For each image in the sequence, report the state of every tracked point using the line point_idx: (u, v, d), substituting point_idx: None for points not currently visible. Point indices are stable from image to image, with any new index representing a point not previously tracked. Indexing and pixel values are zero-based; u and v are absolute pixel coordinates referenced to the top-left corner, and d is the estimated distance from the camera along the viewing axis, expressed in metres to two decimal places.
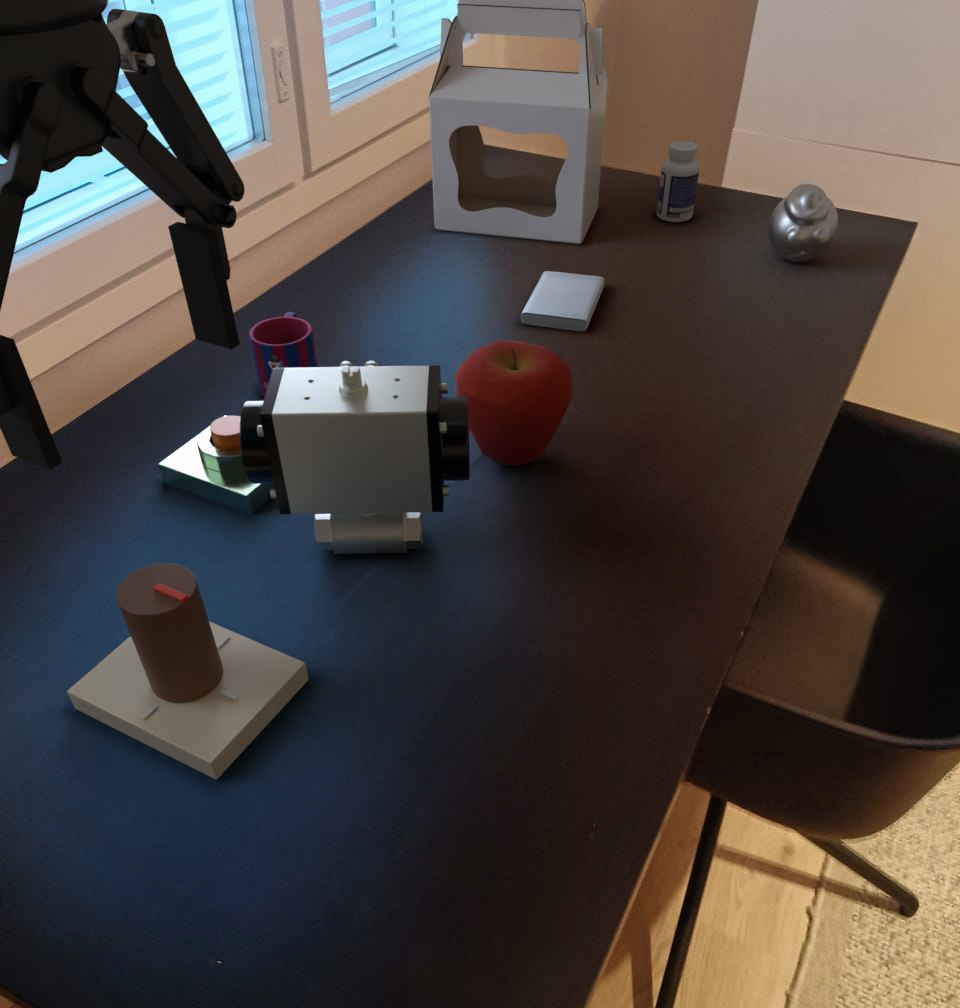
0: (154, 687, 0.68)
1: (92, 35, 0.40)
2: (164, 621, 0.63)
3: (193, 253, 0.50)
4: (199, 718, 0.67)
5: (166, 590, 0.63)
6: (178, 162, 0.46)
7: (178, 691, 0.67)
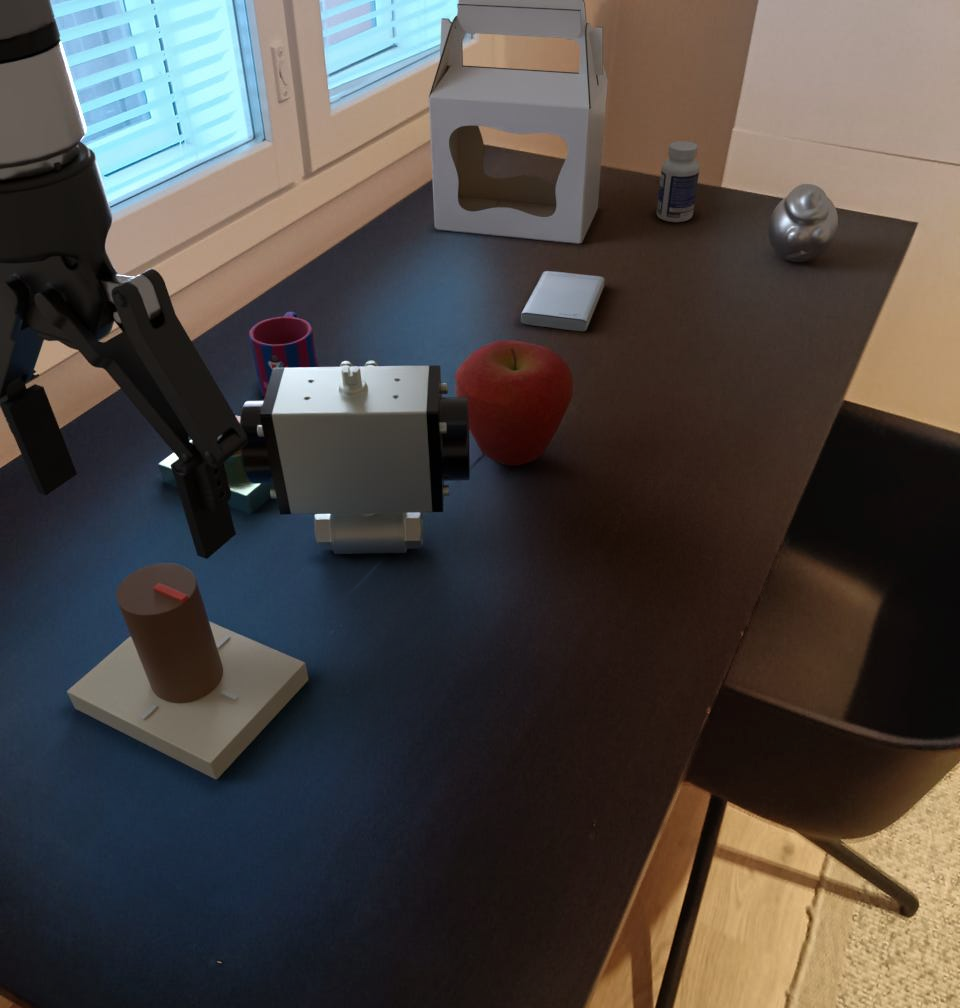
0: (154, 687, 0.68)
1: None
2: (164, 621, 0.63)
3: (34, 413, 0.57)
4: (199, 718, 0.67)
5: (166, 590, 0.63)
6: None
7: (178, 691, 0.67)
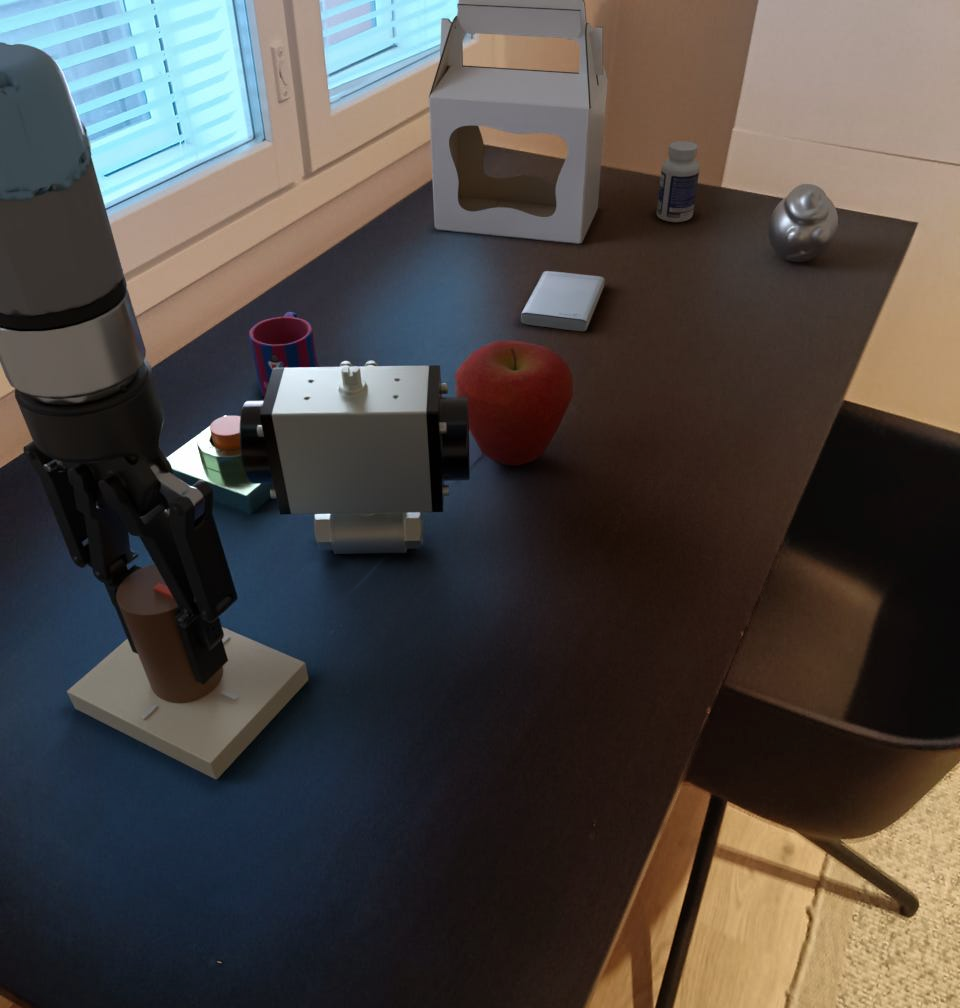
0: (154, 687, 0.68)
1: None
2: (164, 621, 0.63)
3: None
4: (199, 718, 0.67)
5: (166, 590, 0.63)
6: None
7: (178, 691, 0.67)
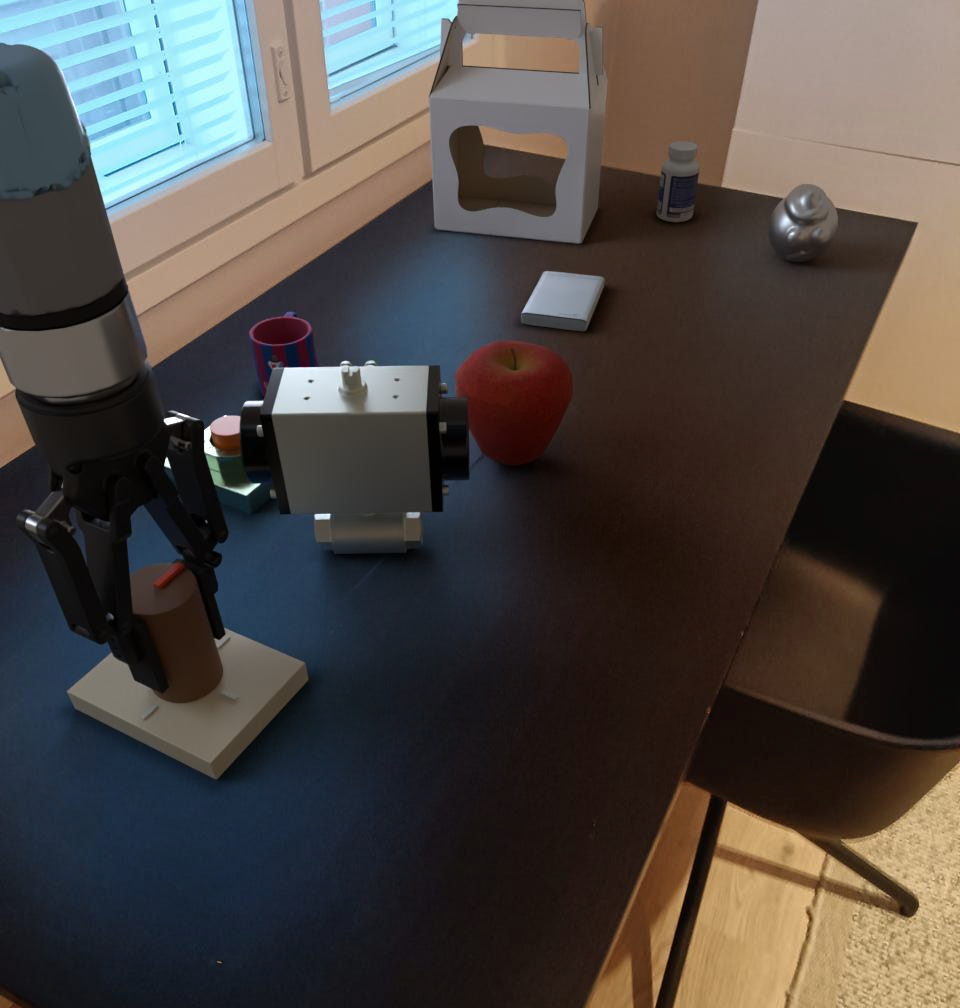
0: (207, 682, 0.68)
1: None
2: None
3: None
4: (199, 718, 0.67)
5: (166, 575, 0.64)
6: (88, 567, 0.59)
7: (219, 661, 0.69)
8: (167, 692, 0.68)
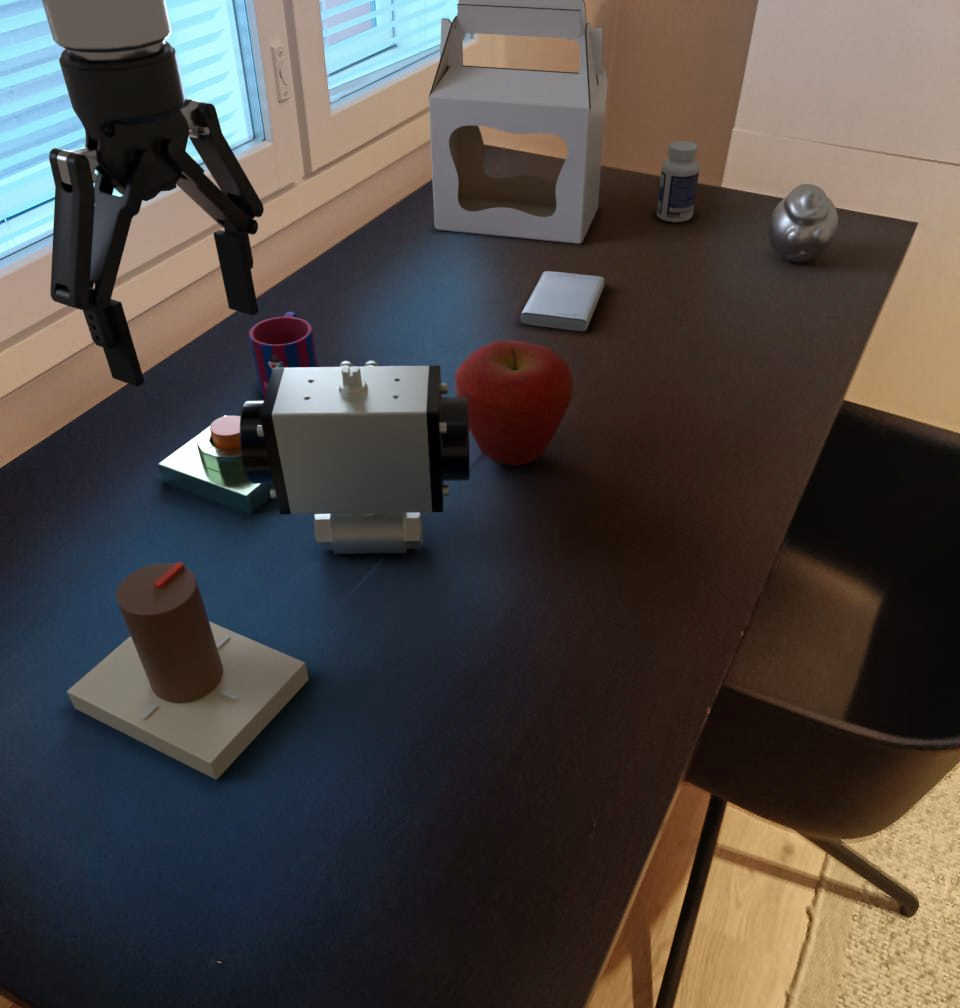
0: (207, 682, 0.68)
1: None
2: None
3: None
4: (199, 718, 0.67)
5: (166, 575, 0.64)
6: None
7: (219, 661, 0.69)
8: (167, 692, 0.68)
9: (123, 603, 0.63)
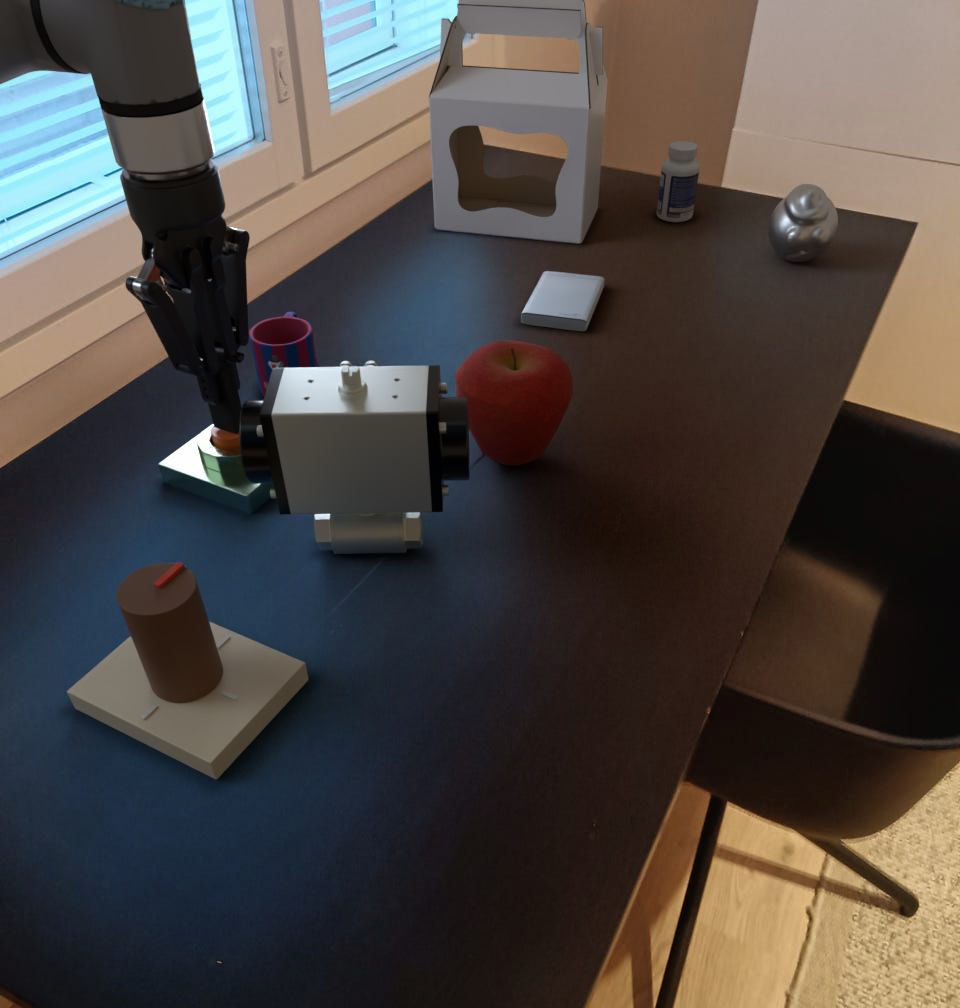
0: (207, 682, 0.68)
1: None
2: None
3: None
4: (199, 718, 0.67)
5: (166, 575, 0.64)
6: None
7: (219, 661, 0.69)
8: (167, 692, 0.68)
9: (123, 603, 0.63)
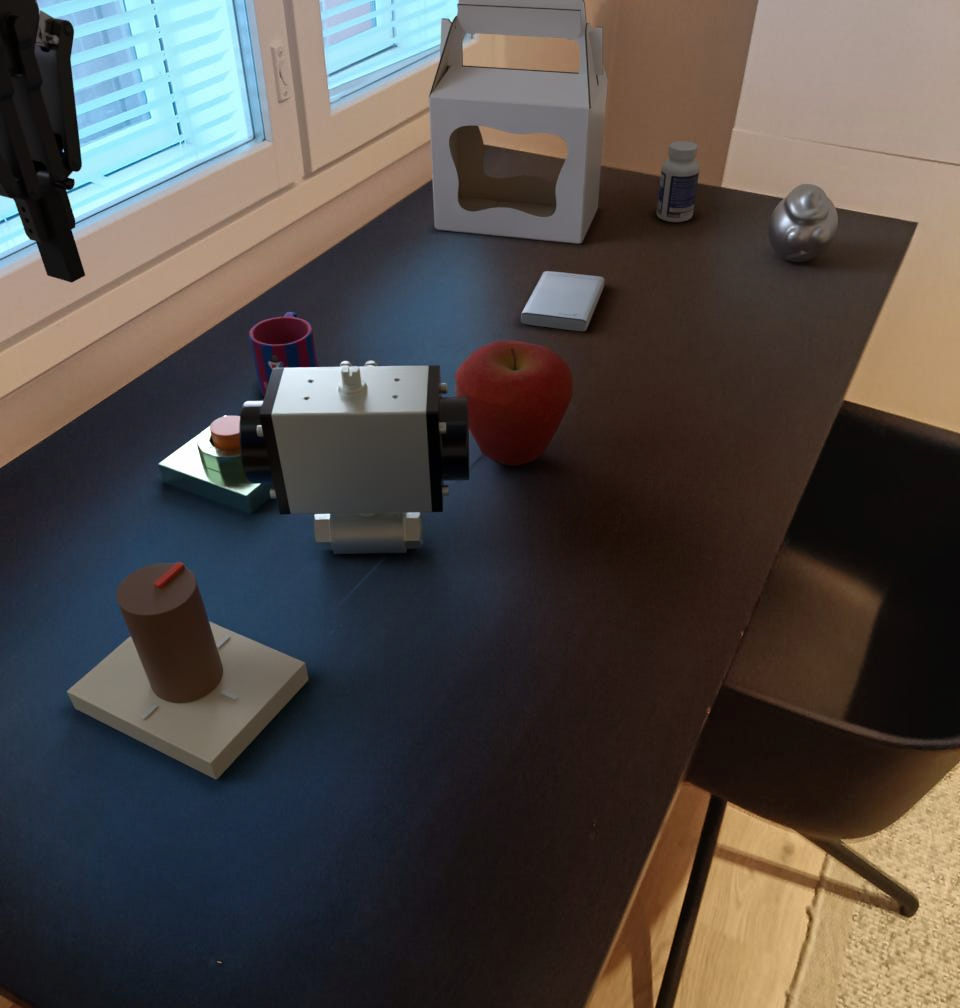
0: (207, 682, 0.68)
1: None
2: None
3: None
4: (199, 718, 0.67)
5: (166, 575, 0.64)
6: None
7: (219, 661, 0.69)
8: (167, 692, 0.68)
9: (123, 603, 0.63)
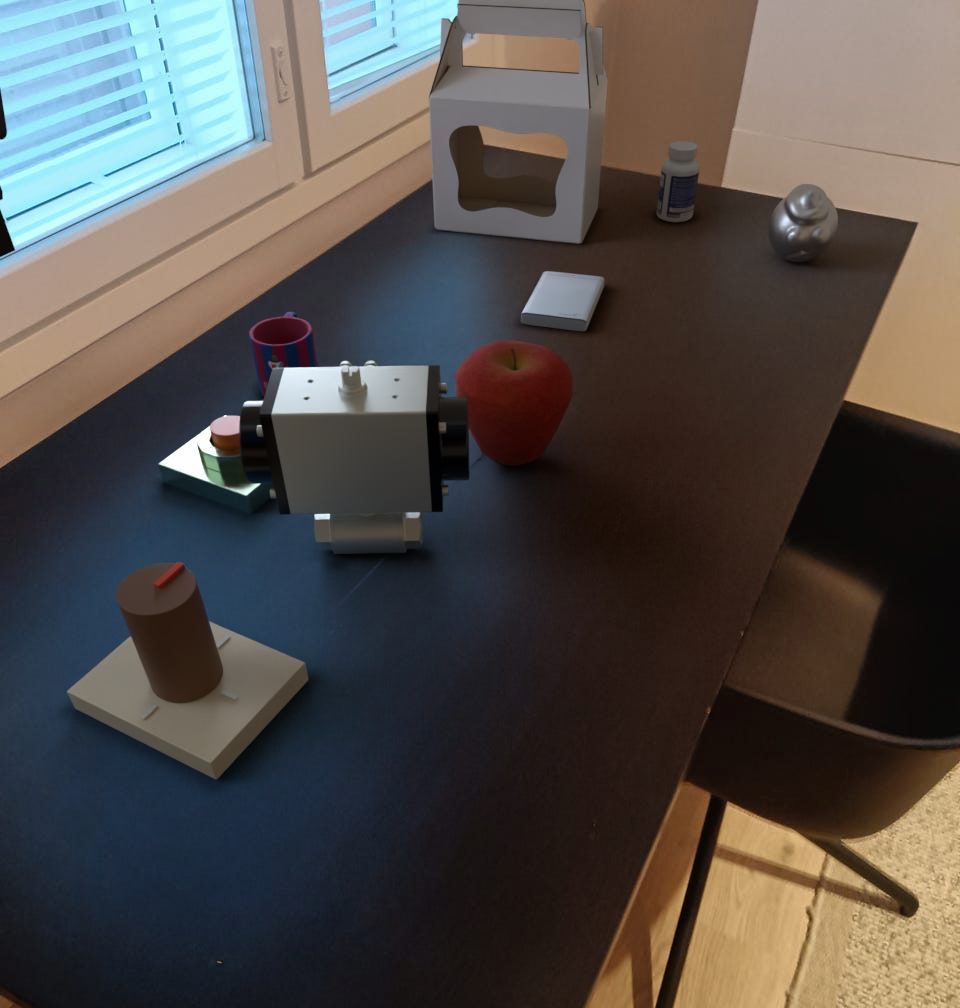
0: (207, 682, 0.68)
1: None
2: None
3: None
4: (199, 718, 0.67)
5: (166, 575, 0.64)
6: None
7: (219, 661, 0.69)
8: (167, 692, 0.68)
9: (123, 603, 0.63)
